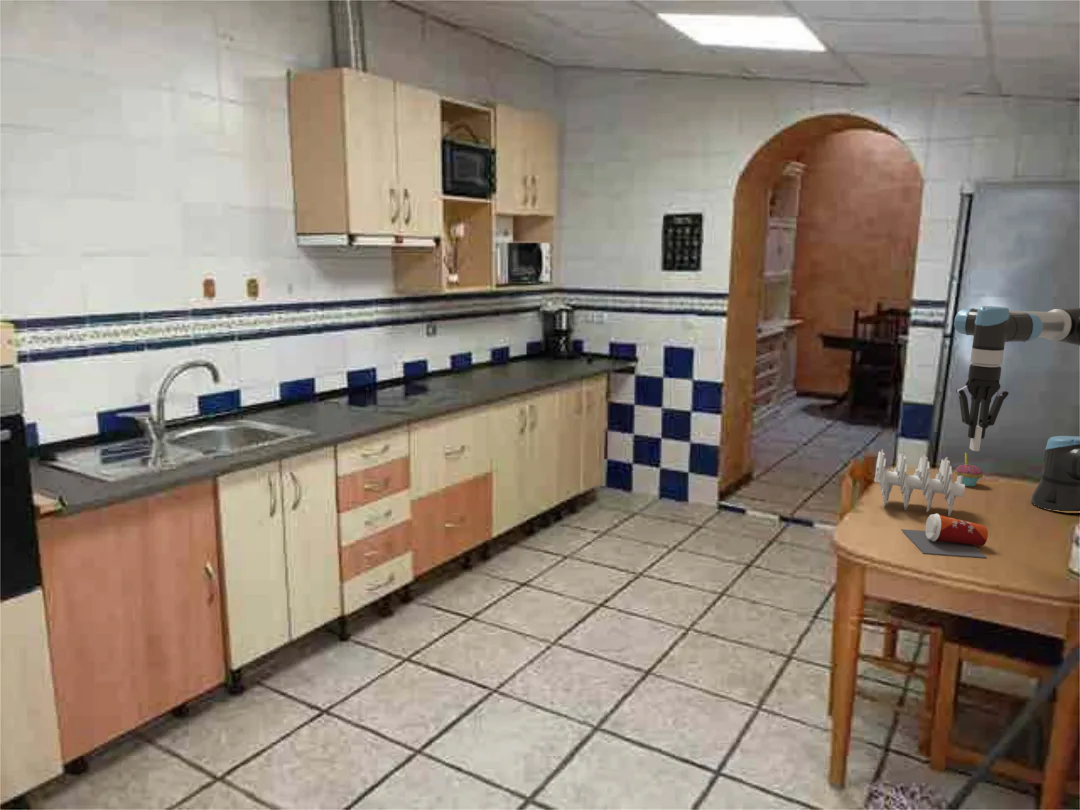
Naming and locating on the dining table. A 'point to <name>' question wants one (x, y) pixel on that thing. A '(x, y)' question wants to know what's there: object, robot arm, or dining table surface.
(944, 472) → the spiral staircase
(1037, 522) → the dining table surface
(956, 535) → the paper cup
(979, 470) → the cupcake
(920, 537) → the mat
